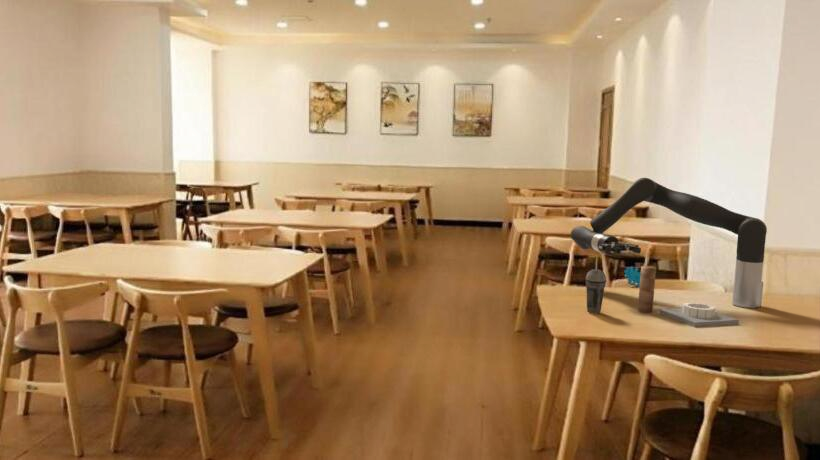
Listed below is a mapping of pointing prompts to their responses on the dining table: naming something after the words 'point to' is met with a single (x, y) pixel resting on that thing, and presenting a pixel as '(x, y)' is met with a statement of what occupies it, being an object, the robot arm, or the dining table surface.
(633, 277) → the blue spiky lump
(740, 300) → the robot arm
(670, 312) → the socket plate
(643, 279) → the cylinder
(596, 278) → the beverage cup
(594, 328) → the dining table surface
